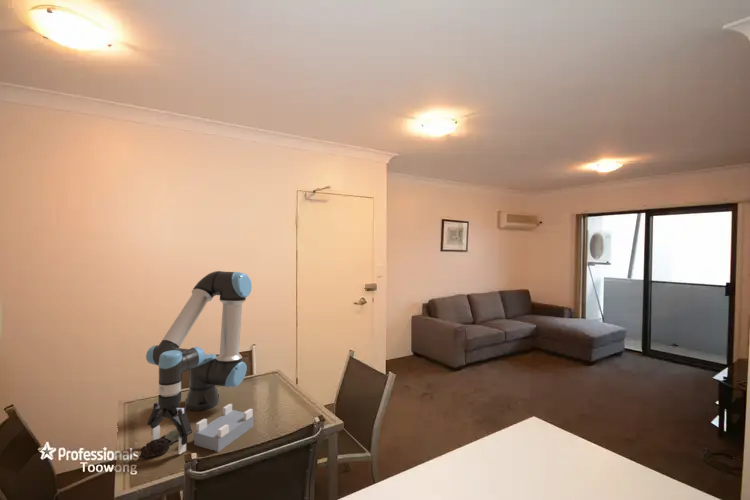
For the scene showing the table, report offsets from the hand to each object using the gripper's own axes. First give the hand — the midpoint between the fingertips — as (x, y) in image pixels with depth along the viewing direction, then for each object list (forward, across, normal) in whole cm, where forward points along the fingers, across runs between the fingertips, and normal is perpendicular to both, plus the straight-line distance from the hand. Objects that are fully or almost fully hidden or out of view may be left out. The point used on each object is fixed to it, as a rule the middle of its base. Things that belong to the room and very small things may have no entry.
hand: (168, 448), depth 134 cm
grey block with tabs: (+1, +12, +16) cm, 20 cm away
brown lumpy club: (+1, -2, 0) cm, 3 cm away
